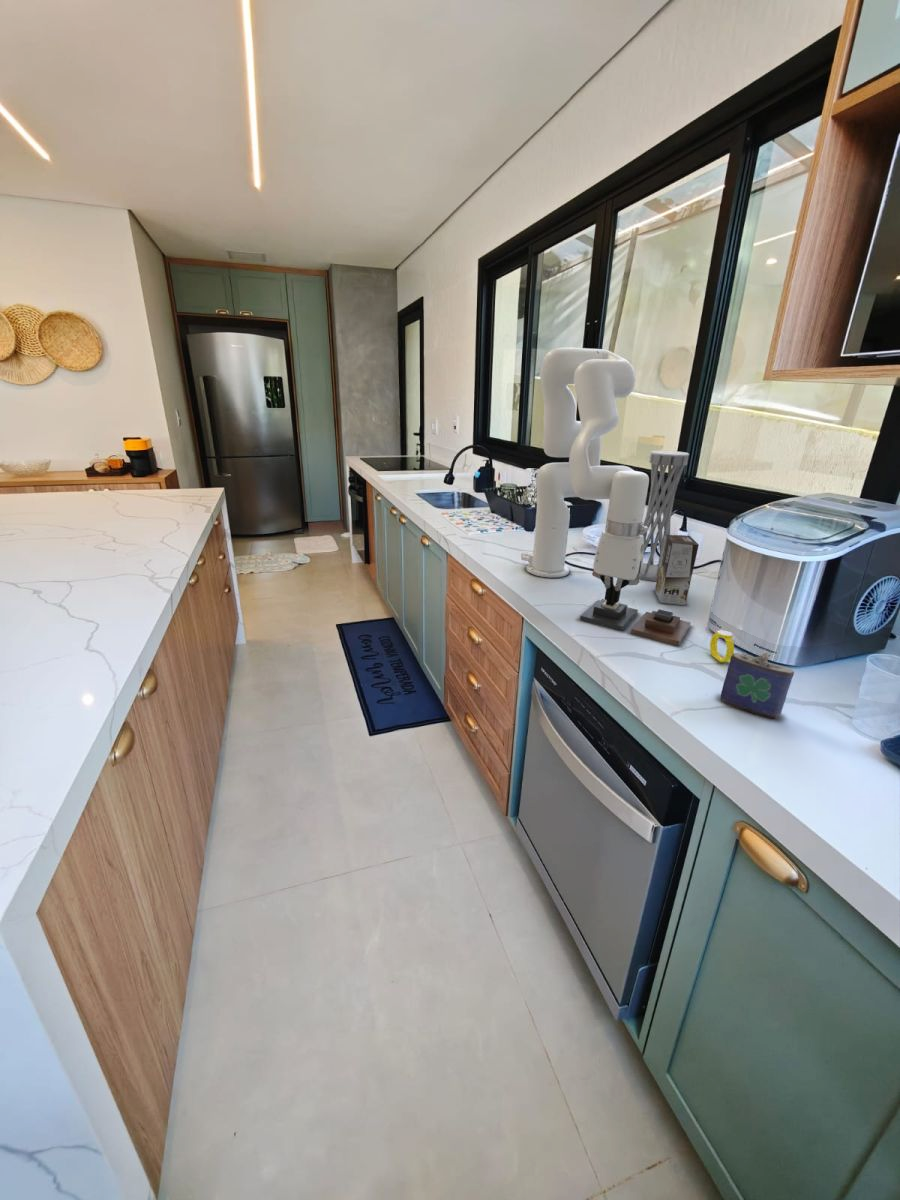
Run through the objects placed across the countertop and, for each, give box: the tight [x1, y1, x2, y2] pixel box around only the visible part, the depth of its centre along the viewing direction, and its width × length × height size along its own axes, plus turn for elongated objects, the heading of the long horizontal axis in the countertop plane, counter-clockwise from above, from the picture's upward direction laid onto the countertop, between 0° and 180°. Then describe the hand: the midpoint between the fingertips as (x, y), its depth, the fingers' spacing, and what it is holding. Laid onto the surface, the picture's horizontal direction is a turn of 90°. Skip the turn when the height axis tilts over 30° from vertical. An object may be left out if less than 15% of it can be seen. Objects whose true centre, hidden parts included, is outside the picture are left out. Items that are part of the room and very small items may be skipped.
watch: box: [709, 629, 735, 663], centre depth 101 cm, size 6×3×6 cm, turn 4°
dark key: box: [654, 608, 674, 623], centre depth 113 cm, size 3×3×2 cm
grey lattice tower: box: [639, 450, 690, 582], centre depth 144 cm, size 14×13×35 cm
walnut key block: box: [630, 610, 692, 647], centre depth 114 cm, size 10×12×3 cm
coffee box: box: [654, 534, 700, 606], centre depth 130 cm, size 9×6×16 cm
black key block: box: [579, 598, 639, 632], centre depth 120 cm, size 10×12×3 cm
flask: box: [719, 651, 795, 720], centre depth 85 cm, size 9×3×11 cm, turn 51°
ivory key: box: [602, 601, 621, 610], centre depth 120 cm, size 3×3×2 cm
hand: (611, 603), depth 119 cm, fingers closed
